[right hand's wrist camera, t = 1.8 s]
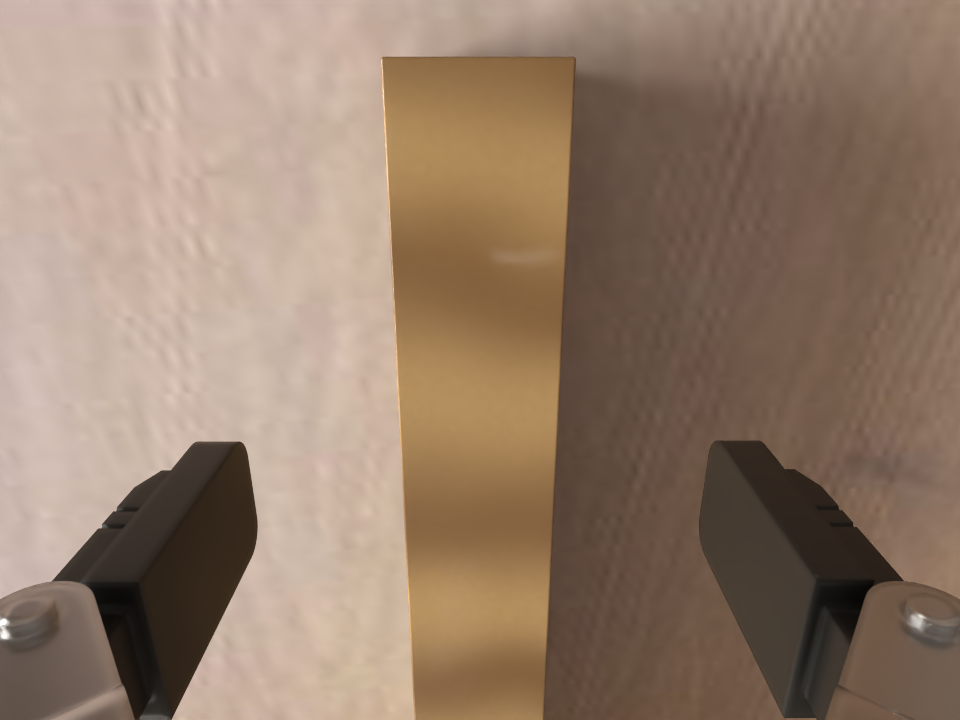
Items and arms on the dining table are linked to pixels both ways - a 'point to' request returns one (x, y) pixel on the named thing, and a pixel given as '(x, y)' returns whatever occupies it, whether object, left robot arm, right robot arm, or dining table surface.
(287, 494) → the dining table surface
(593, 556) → the dining table surface
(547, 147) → the post
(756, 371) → the dining table surface
